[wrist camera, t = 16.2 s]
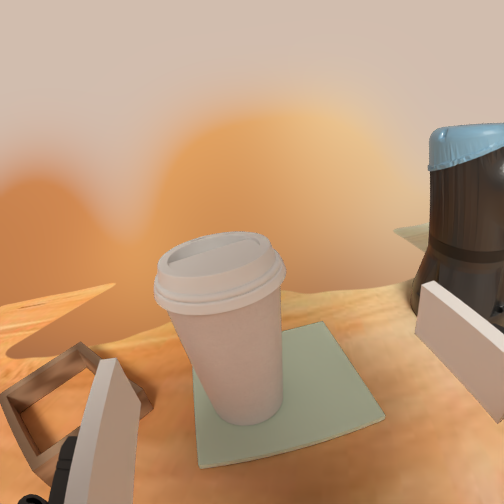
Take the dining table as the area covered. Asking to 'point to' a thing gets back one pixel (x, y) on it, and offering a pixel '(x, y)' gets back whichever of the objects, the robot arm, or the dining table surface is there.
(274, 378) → the coffee cup
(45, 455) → the square tray
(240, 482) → the dining table surface
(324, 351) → the mat
